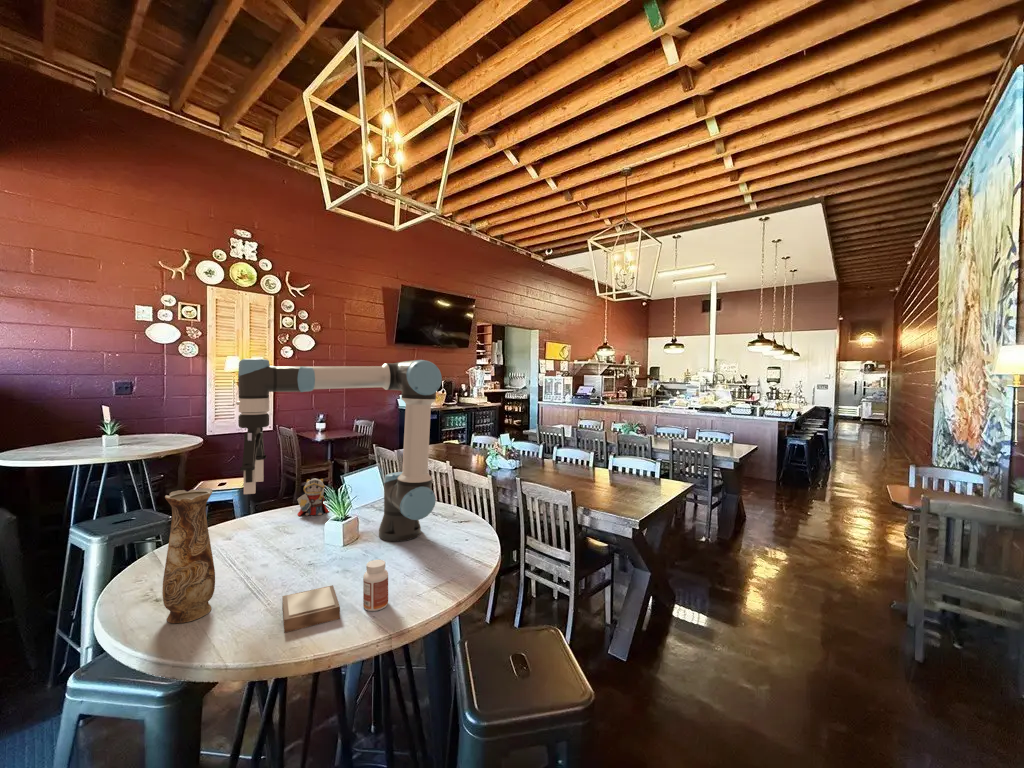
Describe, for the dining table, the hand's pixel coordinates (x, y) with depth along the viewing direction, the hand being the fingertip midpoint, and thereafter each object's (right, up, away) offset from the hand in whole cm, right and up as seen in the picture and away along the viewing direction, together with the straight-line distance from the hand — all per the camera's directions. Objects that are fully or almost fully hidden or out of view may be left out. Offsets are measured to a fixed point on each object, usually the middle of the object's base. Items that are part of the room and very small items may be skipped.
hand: (254, 487), depth 123 cm
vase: (-6, -27, -16) cm, 32 cm away
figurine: (-10, -26, +59) cm, 65 cm away
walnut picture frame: (+23, -28, -15) cm, 39 cm away
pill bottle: (+38, -28, -11) cm, 49 cm away
